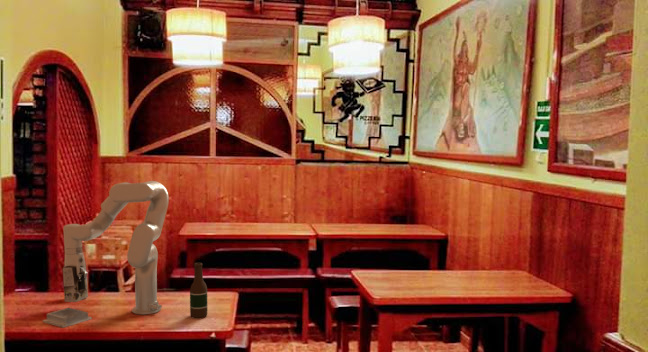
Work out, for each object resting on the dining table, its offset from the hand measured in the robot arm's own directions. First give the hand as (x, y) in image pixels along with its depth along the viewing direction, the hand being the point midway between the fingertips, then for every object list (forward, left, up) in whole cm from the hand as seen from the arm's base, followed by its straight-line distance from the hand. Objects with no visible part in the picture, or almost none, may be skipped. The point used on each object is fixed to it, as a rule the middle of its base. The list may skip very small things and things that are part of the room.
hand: (75, 288), depth 269 cm
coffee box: (0, 0, -5) cm, 5 cm away
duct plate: (-11, +12, -10) cm, 19 cm away
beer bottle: (-55, -23, -10) cm, 61 cm away
